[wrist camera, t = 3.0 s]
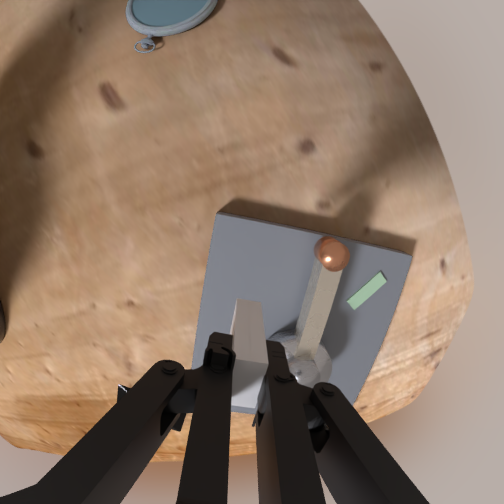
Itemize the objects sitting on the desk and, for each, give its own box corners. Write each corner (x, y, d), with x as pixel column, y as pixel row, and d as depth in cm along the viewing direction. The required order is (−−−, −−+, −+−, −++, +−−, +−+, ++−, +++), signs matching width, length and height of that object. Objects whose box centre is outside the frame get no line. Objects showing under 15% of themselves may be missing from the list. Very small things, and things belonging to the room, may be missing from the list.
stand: (189, 393, 32) (186, 405, 30) (217, 211, 27) (215, 214, 25) (341, 408, 34) (346, 419, 32) (403, 251, 29) (413, 256, 27)
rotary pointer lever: (240, 420, 31) (240, 449, 26) (290, 226, 25) (301, 237, 21) (296, 425, 31) (303, 453, 27) (361, 242, 26) (384, 255, 21)
